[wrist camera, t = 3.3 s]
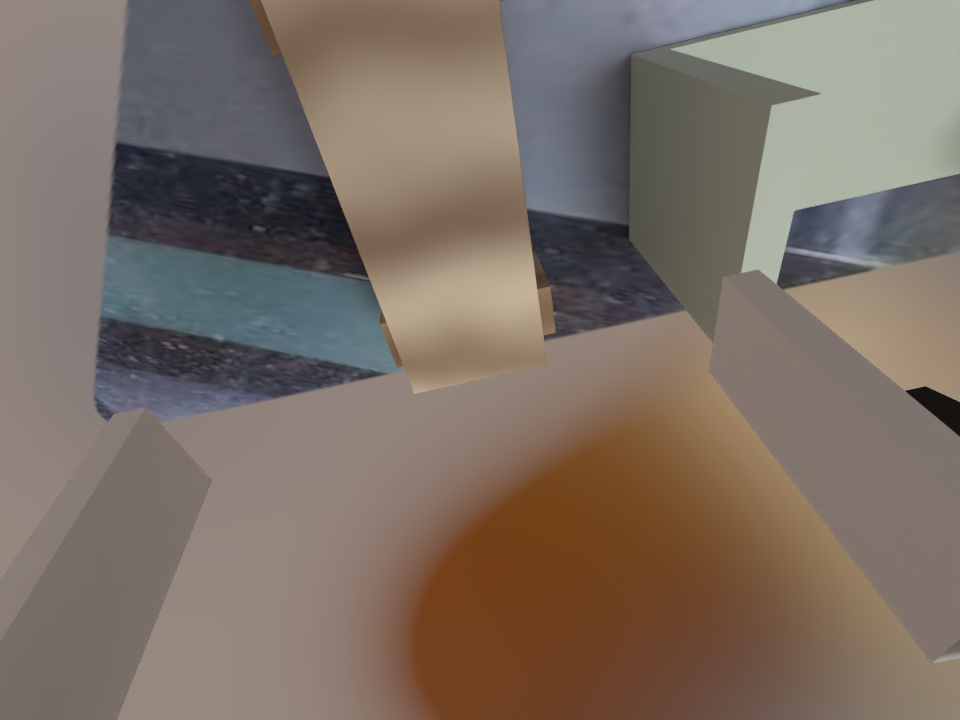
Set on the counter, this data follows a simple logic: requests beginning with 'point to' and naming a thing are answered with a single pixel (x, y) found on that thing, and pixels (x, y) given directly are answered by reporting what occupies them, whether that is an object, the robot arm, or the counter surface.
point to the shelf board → (424, 173)
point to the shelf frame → (783, 132)
